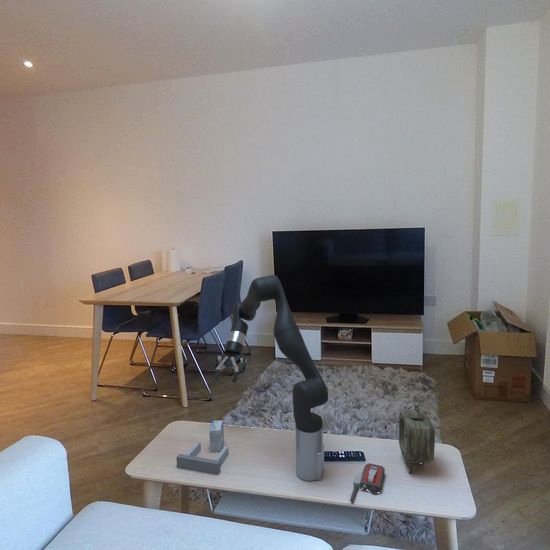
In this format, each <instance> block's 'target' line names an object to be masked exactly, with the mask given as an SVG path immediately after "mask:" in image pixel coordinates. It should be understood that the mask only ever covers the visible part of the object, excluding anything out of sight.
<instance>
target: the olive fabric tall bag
mask: <svg viewBox="0 0 550 550" xmlns="http://www.w3.org/2000/svg"><path fill="white" fill-rule="evenodd" d="M412 400H413V406H414V408H412V409H410V410H409V411H406V410H405V411H402V410H401V411H399V417H398V445H399V448H400V452H401V455H402V458H403V459H404V461H405V462H406V463H411V466H410V468H408V473H409V474H413V473H414V469H413V468H414V466H415V464H419V463H423V464H430V463H431V462H433V461H434V458H435V445H436V444H435V442H436V435H435V434H436V431H435V427H434V424H433V422H432V420H431V418H430V417H429V416H428V415H427V414H426V413H424V412H423V411H421V409H420V401H419V398H418V397H417V395H414V396H413V399H412ZM415 401H416V402H415Z"/></svg>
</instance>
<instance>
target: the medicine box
mask: <svg viewBox="0 0 550 550" xmlns="http://www.w3.org/2000/svg"><path fill="white" fill-rule="evenodd" d="M208 432H209V433H208V434H209V449H210V452H221V450H222V449H223V448H224V442H225V435H224V434H225V433H224V432H225V430H224V420H212V421H211V425H210V429H209V431H208Z"/></svg>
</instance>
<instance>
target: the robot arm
mask: <svg viewBox="0 0 550 550" xmlns="http://www.w3.org/2000/svg"><path fill="white" fill-rule="evenodd" d="M273 300H274V302H275V304H276V317H275V320H274V325H273V336H274V338H275V341H276V344H277V347H278V349H279V351H280V352H281V353H282V354H283V355H284V356H285V357H286V358H287V359H288V360H289V361H291V362H292V363H293V364H294V365H296V367H297V368H298V369H299V370H300V372H301V373H302V375H303V377H304V379H305V380H302V381H297V382H296V383H295V384H294V385H293V388H292V408H293V410H292V412H293V418H294V421H295V422H294V423H295V474H296V476H297V477H298V478H299V479H300V480H303V481H307V482H313V481H314V482H315V481H322V478H323V475H324V471H325V444H323V443H324V439H323V437H324V436H323V435H324V434H323V433H324V428H323V426H324V425H323V424H324V423H323V418H322V416H321V415H320V414H318V413H315V412H311V411H312V409H314V408H318V407H320V406H322V405H325V404H326V403H327V402H328V400H329V391H328V387H327V385H326V383H325V381H324V379H323V377H322V375H321V373H320V372H319V370H318V368H317V366H316V365H315V362H314V360H313V358H312V356H311V354H310V352H309V350H308V347H307V346H306V343H305V340H304V338H303V335H302V333H301V331H300V328H299V327H298V324H297V322H296V320H295V318H294V315H293V313H292V311H291V309H290V308H291V307H290V305H289V302H288V299H287V297H286V294H285V291H284V288H283V285H282V282H281V280H280V278H279V277H278V276H277V275H275V274H270V275H266V276H261V277H256V278H254V279H252V281H251V283H250V285H249V288H248V291H247V294H246V297H245V298H244V299H243V300H242V301H240V300H239V301H236V302H234V304H233V308H232V324H231V328H230V332H229V334H228V336H227V340H226V343H225V346H224V350H223V354H222V355H218V354H215V356H214V359H213V363H212V369H213V371H215V373H214V375H213V379H214V380H215V381H216V382H217V381H219V379H220V376H221V371H223V370H224V369H225V368H234V372H233V376H232V380H231V382H232V383H233V384H234V383H235V384H236V382H237V381H238V380H239V375H240V374H244V373H245V370H246V368H247V364H248V360H247V357H242V354H243V351H244V347H245V344H246V338H247V334H248V328H249V325H248V323H247V322H251V321H253V320H254V319H255V317H256V315H257V310H259V308H260V307H261V304H262V303H261V302H266V301H267V302H268V301H273ZM245 321H247V322H245ZM239 363H241V364H240V368H239V366H238V364H239Z"/></svg>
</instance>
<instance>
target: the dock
mask: <svg viewBox="0 0 550 550" xmlns="http://www.w3.org/2000/svg"><path fill="white" fill-rule="evenodd" d="M201 450H202V445H201V441H196V442H195V443H194V444H193V446H192V447H191V448H190V449H189V450H188V451H187V452H186V453H185V454H183V453H182V454H181V453H179V454H178V455H176V468H177V469H178V468H179V469H184V470H189V471H195V472H201V473H206V474H210V475H211V474H212V475H217V476H218V475H220V473H221V466H222V464H223V463H224V461H225V460H226V458H227V457H228V456H229V452H230V451H229V446H225V445H223V447H222V450H221V451H219V453H218V454H217V455H216V457H215V458H214V459H213V458H206V457H199V456H197V455H198V454H199V453H200V452H201Z"/></svg>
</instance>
